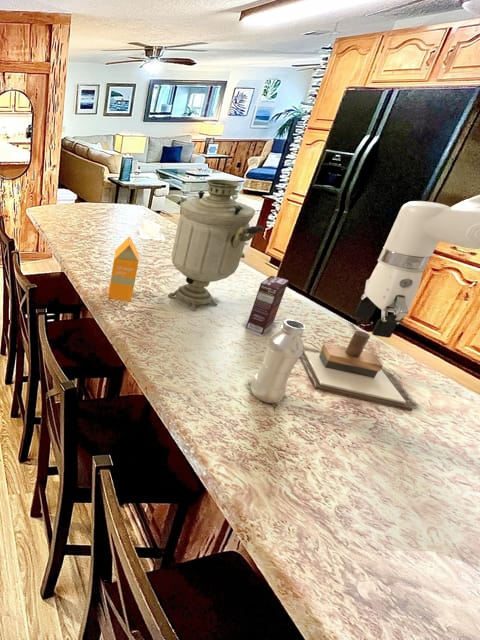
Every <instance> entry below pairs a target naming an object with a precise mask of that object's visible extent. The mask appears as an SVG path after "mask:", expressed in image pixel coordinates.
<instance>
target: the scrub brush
mask: <svg viewBox="0 0 480 640" xmlns="http://www.w3.org/2000/svg"><path fill="white" fill-rule="evenodd" d="M370 338H371V335H370V334H369V333H367V332H366V331H361V330H355V331H354V333H353V335H352V337H351V339H350V341H349V343H348V344H347V347H345V346H339V345H334V344H329V343H323V344H322V346H321V350H320V353H319V354H320V355H319V357H320V359H321V361H322V363H323V364H324V366H325V368H330V369H335V370H339V371H344V372H349V373H353V374H358V375H363V376H367V377H372V378H375V376H376V374H377V372H378V371H380V370H381V368H382V369H383V367H384V365H383V364H382V362H381V360H380V359H378V357H377V356H376V354H375V353H374V352H370V351H364V349H365V347H366V345H367V343H368V342H369V339H370Z"/></svg>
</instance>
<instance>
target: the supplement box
mask: <svg viewBox="0 0 480 640" xmlns="http://www.w3.org/2000/svg"><path fill="white" fill-rule="evenodd" d="M288 285H289V280H288V279H285V278H282V277H279V276H275V275H270V276H268V277H267V278H266V279H264V280H263V281H262V282H260V285H259V288H258V290H257V293H256V297H255V299H254V302H253V305H252V308H251V311H250V314H249V316H248V319H247V321H246V322H247V323H246V326H245V329H244V331H246V332H249V333H251V334H253V335H256V336H258V337H263V336H265V334H266V333H267V332H268V331H269V330H270V329H271V328H272V327H273V325H274V322H275V320H276V316H277V314H278V311H279V308H280V305H281V302H282V300H283V297H284V295H285V292H286V290H287V287H288Z"/></svg>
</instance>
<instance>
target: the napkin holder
mask: <svg viewBox="0 0 480 640" xmlns="http://www.w3.org/2000/svg"><path fill="white" fill-rule="evenodd" d="M164 228H165V227H164V226H162V225H160V224H159V223H156V222H154V221H152V220H144V221H143V226H142V228H138V232H139V235H140V239H145V240H155V241H166V238H165V235H164V234H163V233H164Z"/></svg>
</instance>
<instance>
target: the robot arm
mask: <svg viewBox="0 0 480 640" xmlns="http://www.w3.org/2000/svg"><path fill="white" fill-rule="evenodd" d="M439 242H441V243H446V244H449V245H453V246H458V247H460V248H466V249H471V250H472V249H473V250H480V194H479V195H476V196H473V197H470V198H467V199H464V200H462V201H460V202H458V203H456V204H454V205H452V206H449V205H447V204H444V203H439V202H435V201H434V202H433V201H426V200H425V201H424V200H412V201H408V202H406V203H403V205H402V206H401V207H400V209H399V211H398V214H397V216H396V219H395V221H394V222H393V225H392V227H391V230H390V232H389V234H388V236H387V239H386V241H385V243H384V246H383V247H382V249H381V252H380V254H379V256H378V258H377V264H376V265H375V268H374V269H373V271H372V273H371V275H370V277H369V278H367V279H366V280H365V286H364V288H363V290H362V291H363V294H362V295H361V296H360V301H359V302H358V305H357V307H356V310H355V312H354V314H355V315H356V316H360V317H367V318H371V317H373V315H374V313H375V311H376V309H377V308H378V309H379V310H381V313H380V315H381V316H380V318H378V319H377V321H376V323H375V325H374V327H373V330H372V331H371V335H373V336H376V337H382V338H387V339H389V338H392V335H393V333H394V332H395V330H396V327H397V325H400V323H401V322H402V321H403V320H404V318H405V317H407V316H408V315H409V311H410V309H411V307H412V305H413V302H414V300H415V298H416V297H417V296H416V295H417V293H418V291H419V288H420V285H421V281H422V278H423V274H424V271H425V269H426V267H427V266H428V263H429V261H430V260H431V257H432V255H433V254H434V251H435V249H436V248H437V245H438V244H439ZM388 312H389V313H391V314H389V313H388Z"/></svg>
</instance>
